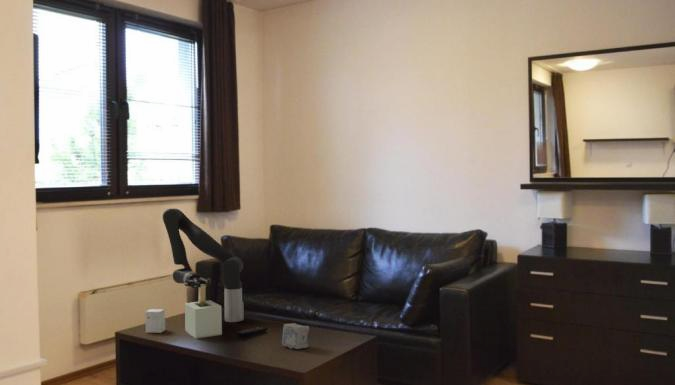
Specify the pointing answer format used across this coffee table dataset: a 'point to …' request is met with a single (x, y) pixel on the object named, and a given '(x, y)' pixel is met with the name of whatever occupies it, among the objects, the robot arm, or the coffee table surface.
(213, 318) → the box
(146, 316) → the small box
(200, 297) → the brass token
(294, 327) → the incense holder
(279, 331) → the coffee table surface
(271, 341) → the coffee table surface
